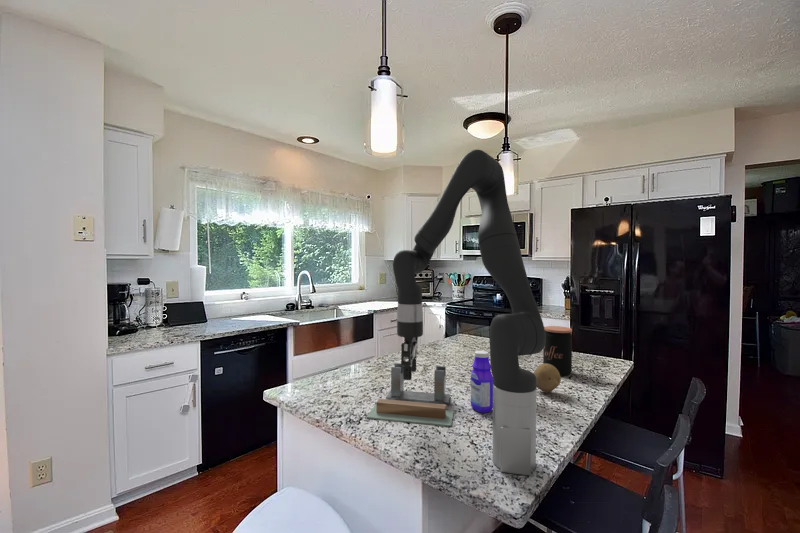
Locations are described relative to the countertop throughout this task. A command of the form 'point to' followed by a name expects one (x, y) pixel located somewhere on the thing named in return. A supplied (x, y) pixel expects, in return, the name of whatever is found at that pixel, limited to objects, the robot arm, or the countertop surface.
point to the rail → (411, 408)
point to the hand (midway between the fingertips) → (410, 375)
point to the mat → (412, 418)
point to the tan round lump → (547, 377)
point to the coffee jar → (558, 349)
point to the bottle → (481, 383)
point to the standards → (435, 398)
